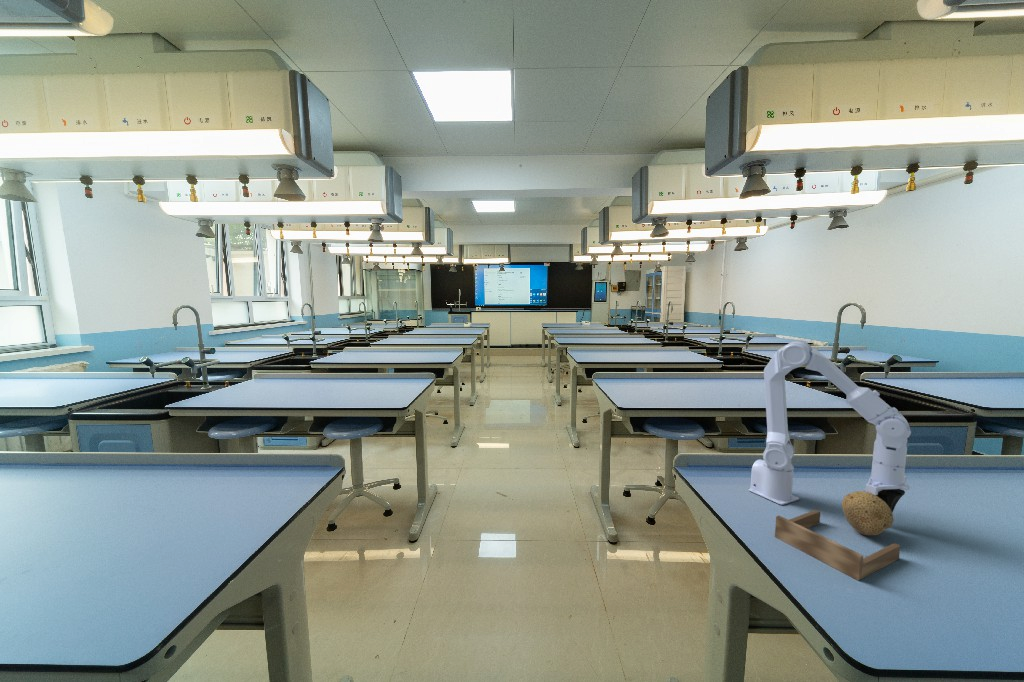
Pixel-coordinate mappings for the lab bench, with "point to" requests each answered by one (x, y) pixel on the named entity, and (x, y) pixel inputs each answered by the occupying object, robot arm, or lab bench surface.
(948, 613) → the lab bench surface
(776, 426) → the robot arm
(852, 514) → the natural sponge
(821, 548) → the wooden u-shaped fence
